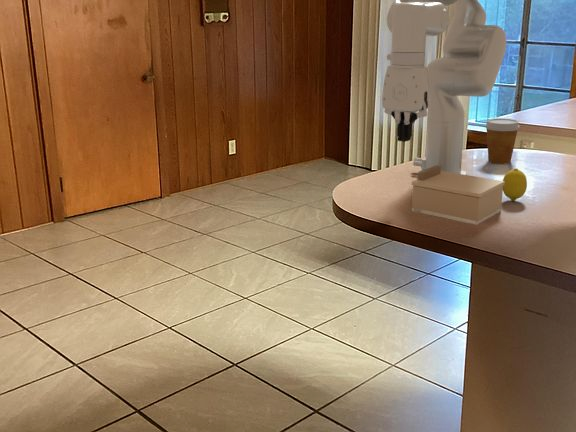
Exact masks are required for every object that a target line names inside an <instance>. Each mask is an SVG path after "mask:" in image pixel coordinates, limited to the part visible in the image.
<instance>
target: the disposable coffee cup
mask: <svg viewBox="0 0 576 432" xmlns="http://www.w3.org/2000/svg"><path fill="white" fill-rule="evenodd" d="M484 126H485V129H486V142H487V145H486V146H487V158H488V159H487V161H488V163H491V164H494V165H495V164H496V165H507V164H511V162H512V161H511V160H512V157H513V153H514V148H515V143H516V140H517V134H518V130H519V129H520V127H521V125H520V124H519V120H516V119H512V118H491V119H490V118H489V119H487V120H486V123H485V124H484Z"/></svg>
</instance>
